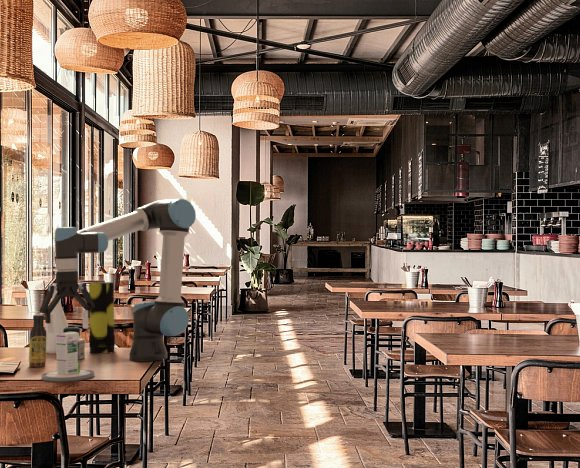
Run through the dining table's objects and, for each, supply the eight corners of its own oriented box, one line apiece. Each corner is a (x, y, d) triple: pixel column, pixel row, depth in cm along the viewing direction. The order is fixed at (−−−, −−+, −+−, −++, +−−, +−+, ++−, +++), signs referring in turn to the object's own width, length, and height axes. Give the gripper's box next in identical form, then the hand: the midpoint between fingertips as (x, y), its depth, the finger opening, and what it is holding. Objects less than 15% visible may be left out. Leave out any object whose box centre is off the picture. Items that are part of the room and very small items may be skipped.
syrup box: (67, 375, 266) (66, 333, 266) (56, 373, 270) (55, 332, 270) (80, 373, 271) (79, 332, 271) (69, 371, 274) (68, 331, 274)
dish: (99, 372, 279) (99, 368, 279) (86, 381, 261) (86, 377, 261) (50, 373, 279) (50, 369, 279) (34, 382, 261) (34, 378, 261)
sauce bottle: (30, 368, 291) (29, 316, 291) (27, 365, 296) (27, 314, 297) (48, 366, 294) (47, 315, 294) (45, 364, 299) (44, 313, 300)
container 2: (117, 350, 337) (116, 282, 337) (112, 353, 326) (111, 283, 326) (92, 350, 336) (91, 282, 337) (86, 354, 326) (85, 283, 326)
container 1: (76, 360, 309) (75, 328, 309) (58, 360, 310) (58, 328, 310) (85, 357, 316) (84, 326, 316) (67, 357, 318) (67, 326, 318)
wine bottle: (71, 352, 331) (70, 283, 331) (49, 354, 326) (48, 284, 326) (64, 350, 339) (63, 282, 339) (42, 352, 333) (41, 283, 334)
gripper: (92, 268, 282) (94, 325, 282) (28, 272, 264) (30, 333, 264) (103, 268, 277) (105, 327, 277) (38, 272, 259) (40, 335, 259)
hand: (68, 330), depth 271 cm, fingers open, 13 cm apart
